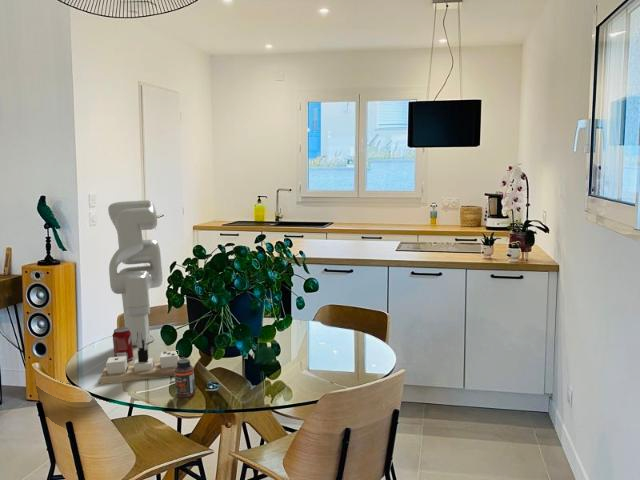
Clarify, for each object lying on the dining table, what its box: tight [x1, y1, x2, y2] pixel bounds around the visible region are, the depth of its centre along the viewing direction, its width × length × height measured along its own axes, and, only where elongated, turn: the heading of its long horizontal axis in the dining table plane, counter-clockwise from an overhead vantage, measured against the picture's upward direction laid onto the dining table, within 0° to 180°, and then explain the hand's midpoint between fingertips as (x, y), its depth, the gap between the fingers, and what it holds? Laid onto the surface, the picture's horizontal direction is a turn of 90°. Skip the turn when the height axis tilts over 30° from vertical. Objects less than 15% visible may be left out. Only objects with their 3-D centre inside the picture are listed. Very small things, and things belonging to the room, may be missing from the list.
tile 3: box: [159, 350, 180, 369], centre depth 218 cm, size 6×6×4 cm
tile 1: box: [105, 356, 128, 374], centre depth 215 cm, size 6×6×4 cm
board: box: [99, 357, 181, 385], centre depth 217 cm, size 13×28×2 cm, turn 101°
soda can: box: [112, 326, 134, 362], centre depth 232 cm, size 7×7×12 cm
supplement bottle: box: [174, 358, 196, 399], centre depth 194 cm, size 6×6×11 cm
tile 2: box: [133, 357, 154, 372], centre depth 217 cm, size 6×6×4 cm
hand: (143, 360), depth 216 cm, fingers closed
